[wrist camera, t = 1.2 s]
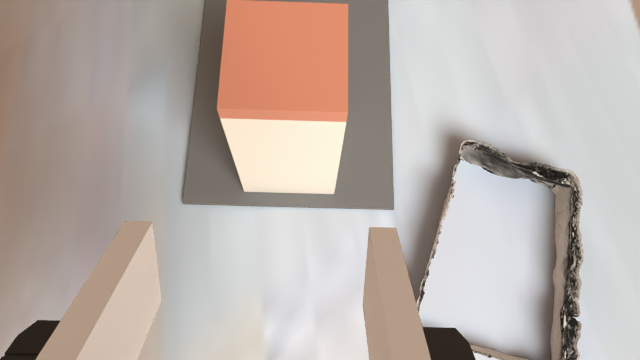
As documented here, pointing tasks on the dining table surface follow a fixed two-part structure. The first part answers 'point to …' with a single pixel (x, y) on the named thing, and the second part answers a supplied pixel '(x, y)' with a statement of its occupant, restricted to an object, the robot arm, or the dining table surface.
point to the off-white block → (285, 93)
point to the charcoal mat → (360, 132)
